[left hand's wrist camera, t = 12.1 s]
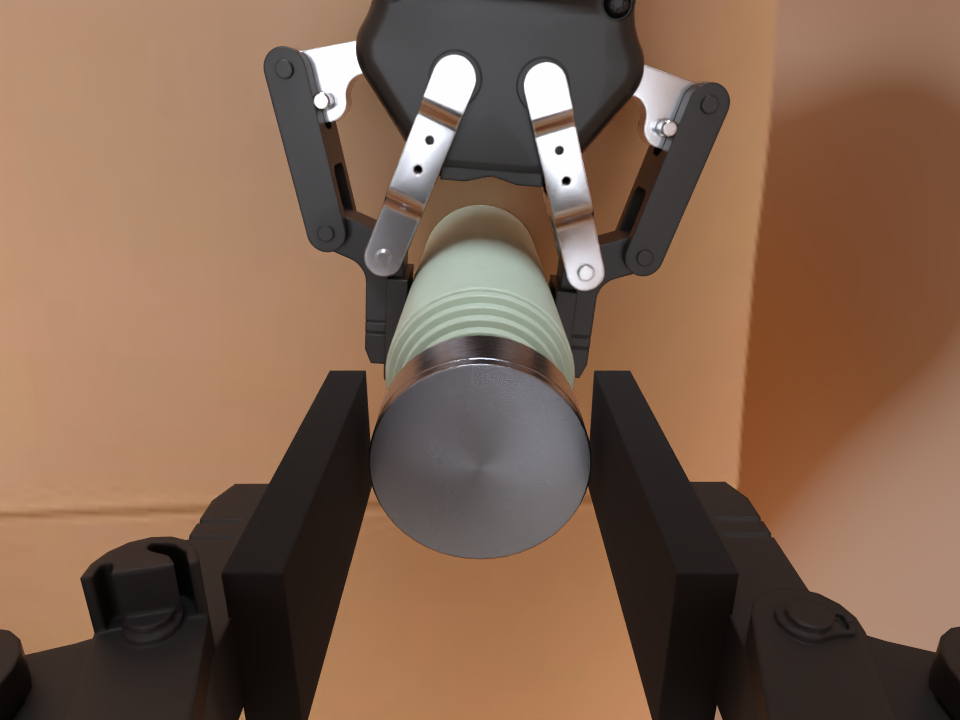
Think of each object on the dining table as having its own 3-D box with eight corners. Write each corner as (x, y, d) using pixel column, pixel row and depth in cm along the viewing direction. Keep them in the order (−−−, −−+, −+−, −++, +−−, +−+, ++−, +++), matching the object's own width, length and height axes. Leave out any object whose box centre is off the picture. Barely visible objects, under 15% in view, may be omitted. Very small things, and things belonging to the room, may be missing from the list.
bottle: (554, 230, 29) (644, 398, 13) (509, 330, 31) (540, 585, 15) (448, 186, 28) (408, 305, 13) (407, 290, 30) (327, 513, 14)
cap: (614, 378, 14) (630, 413, 13) (530, 537, 16) (536, 585, 14) (421, 302, 14) (414, 329, 12) (352, 475, 15) (338, 518, 14)
